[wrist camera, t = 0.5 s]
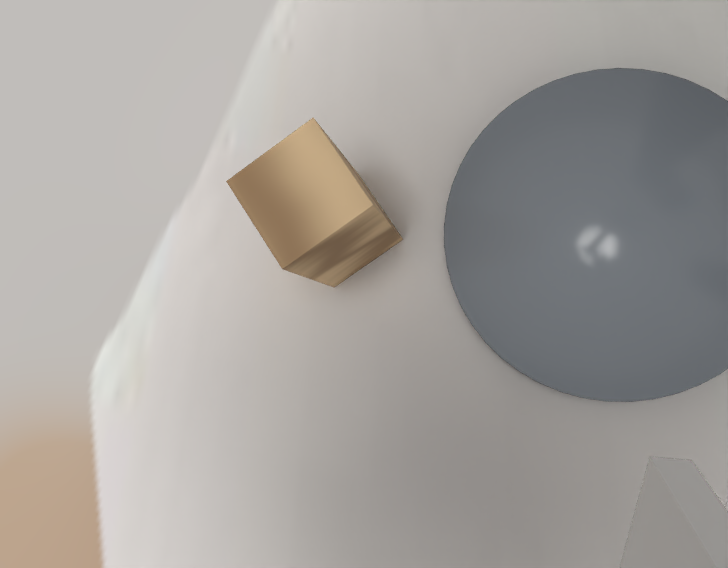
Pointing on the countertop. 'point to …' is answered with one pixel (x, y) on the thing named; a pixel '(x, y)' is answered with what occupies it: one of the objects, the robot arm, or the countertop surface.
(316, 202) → the oak block
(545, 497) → the countertop surface
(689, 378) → the dish
